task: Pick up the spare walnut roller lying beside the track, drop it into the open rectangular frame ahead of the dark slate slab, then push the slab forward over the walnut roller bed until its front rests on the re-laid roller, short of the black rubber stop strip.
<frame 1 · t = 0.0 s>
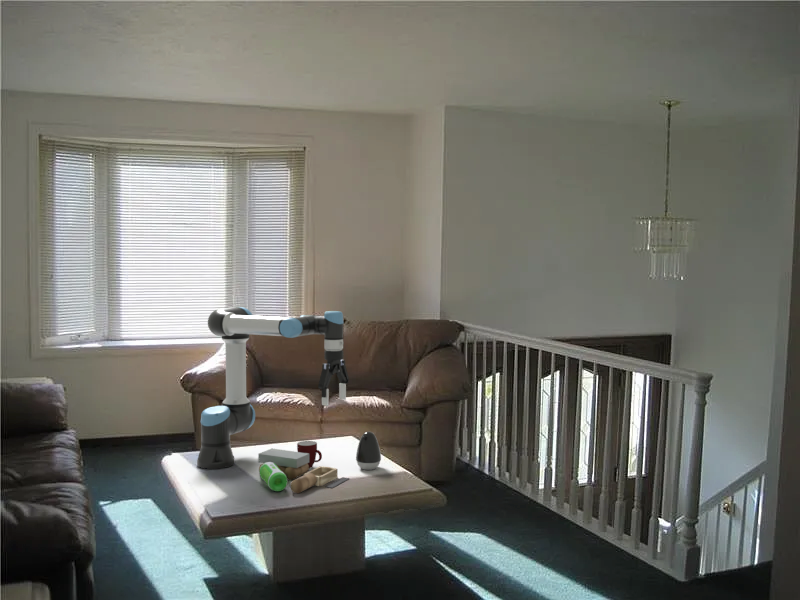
hand: (334, 402, 297), 28 cm above the table, fingers open, 13 cm apart
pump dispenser: (368, 468, 302), on the table
open rectangular frame: (320, 480, 285), on the table
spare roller: (303, 489, 275), on the table
roller bed: (284, 474, 293), on the table
mug: (310, 467, 303), on the table
speaker: (273, 486, 279), on the table
slab: (283, 462, 292), point 5 cm above the table, touching roller bed
stop strip: (337, 483, 282), on the table
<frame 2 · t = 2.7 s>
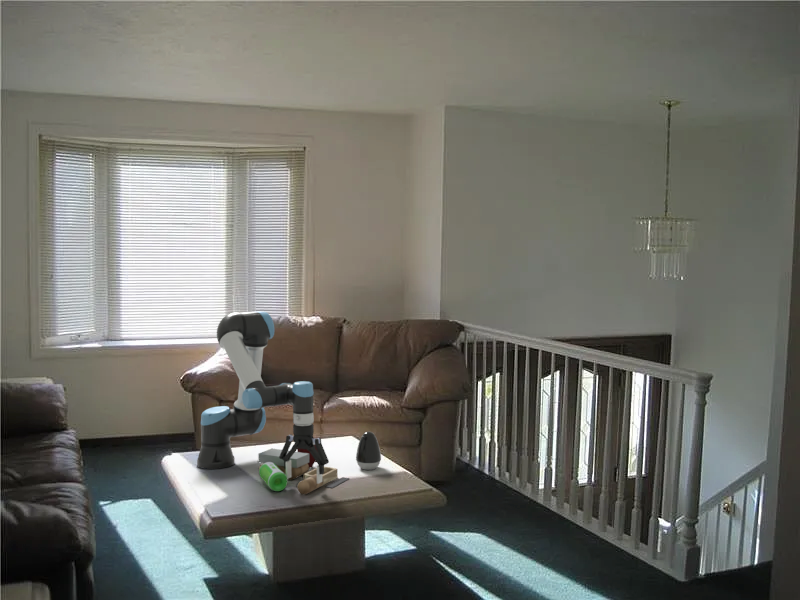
hand: (303, 480, 274), 3 cm above the table, fingers open, 13 cm apart
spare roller: (305, 485, 274), point 2 cm above the table, tilted 73°
everything else where it was.
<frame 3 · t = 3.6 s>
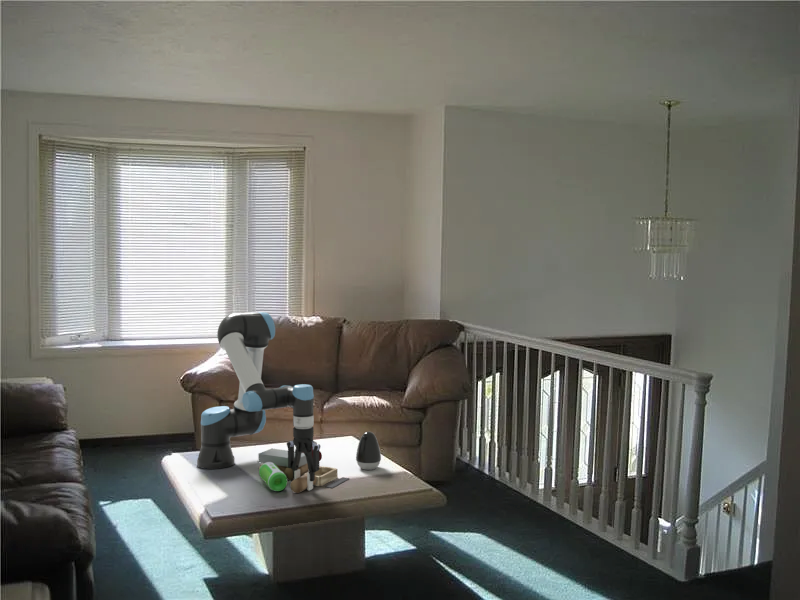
hand: (303, 488, 275), 0 cm above the table, fingers closed on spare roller, 5 cm apart
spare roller: (303, 489, 275), on the table, touching gripper
everything else where it was.
when the fingers open (5 cm above the table, at t = 7.8 s): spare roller drops 5 cm, resting in open rectangular frame.
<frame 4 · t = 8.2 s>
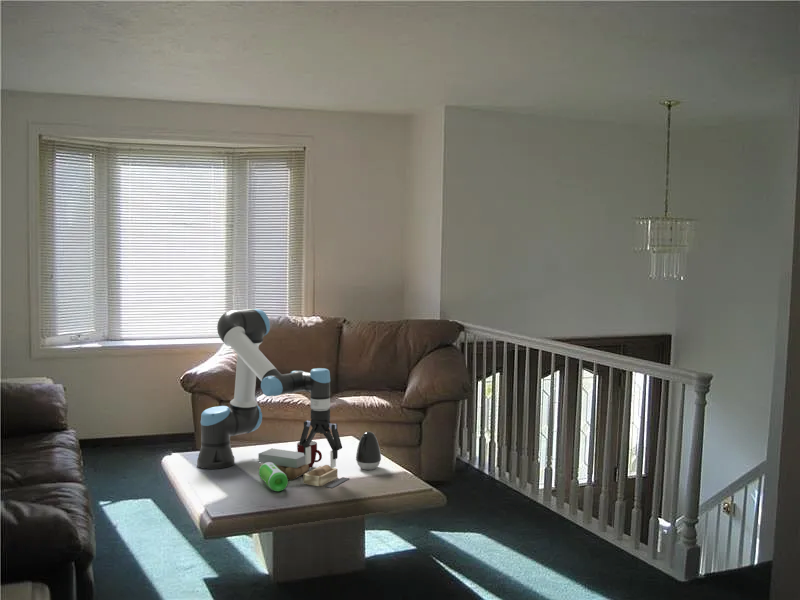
hand: (320, 465, 285), 6 cm above the table, fingers open, 10 cm apart
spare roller: (320, 480, 285), resting in open rectangular frame
everything else where it was.
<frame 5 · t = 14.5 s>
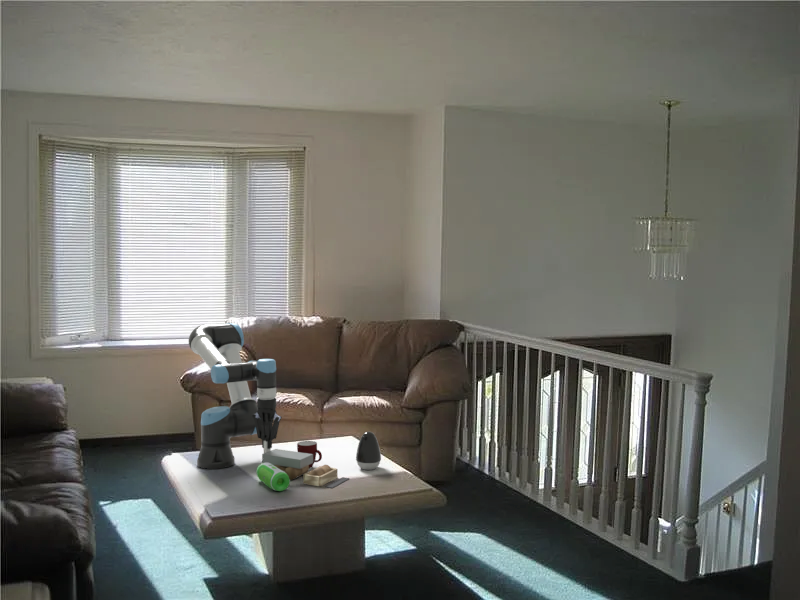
hand: (267, 456, 295), 7 cm above the table, fingers closed
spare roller: (320, 480, 285), resting in open rectangular frame, tilted 8°
slab: (287, 462, 292), point 5 cm above the table, touching gripper, roller bed
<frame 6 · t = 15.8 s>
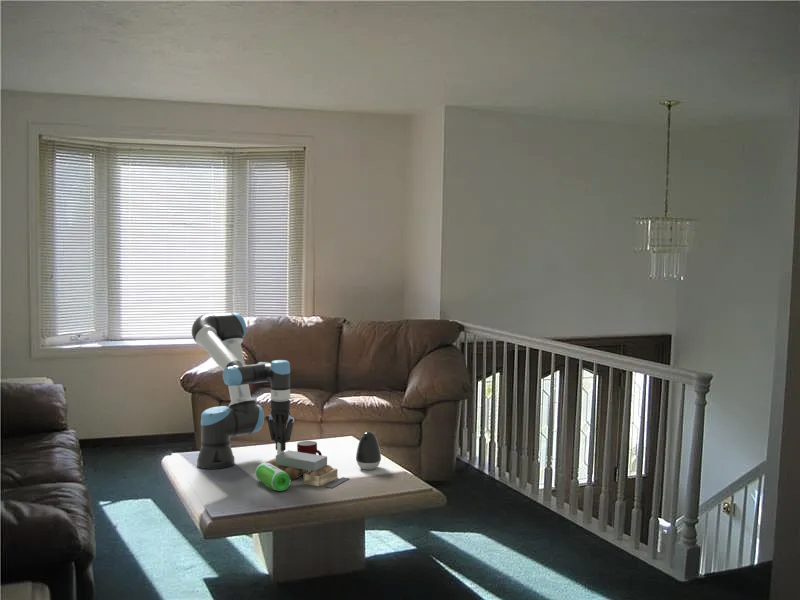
hand: (280, 458, 293), 6 cm above the table, fingers closed
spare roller: (320, 480, 285), resting in open rectangular frame, tilted 10°, touching slab
slab: (301, 464, 289), point 5 cm above the table, touching gripper, roller bed, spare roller
everything else where it was.
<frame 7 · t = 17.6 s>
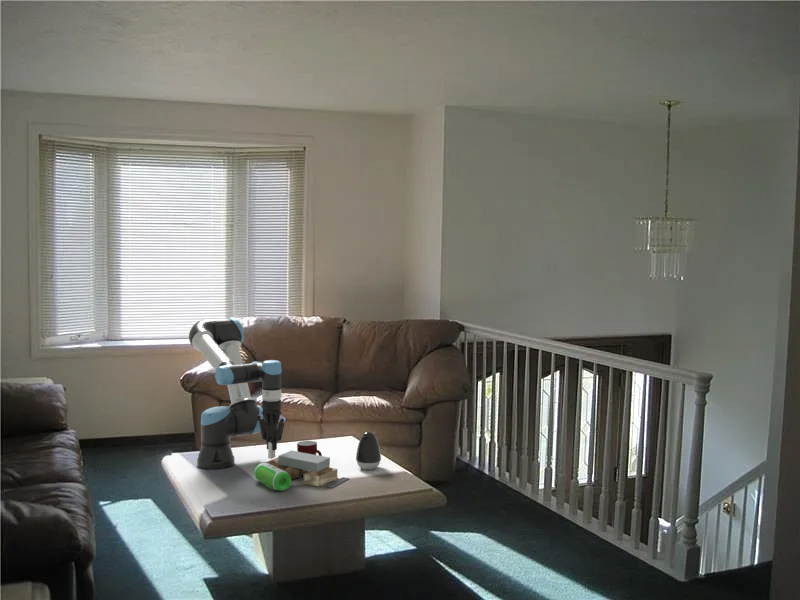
hand: (271, 457, 295), 6 cm above the table, fingers closed
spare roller: (315, 478, 286), resting in open rectangular frame, tilted 49°, touching slab
slab: (303, 465, 288), point 5 cm above the table, touching roller bed, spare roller
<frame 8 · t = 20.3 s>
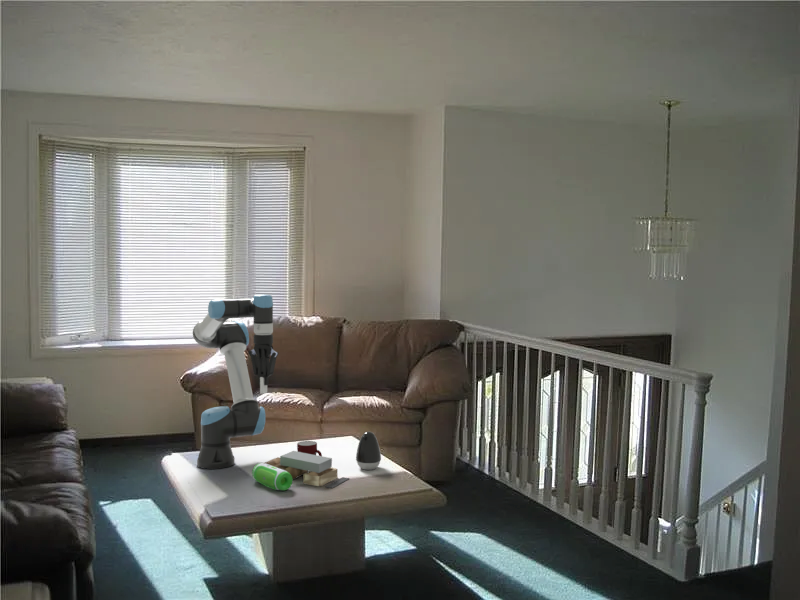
hand: (263, 393, 292), 32 cm above the table, fingers closed
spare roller: (314, 476, 286), point 1 cm above the table, tilted 68°, touching open rectangular frame, slab
at the end: slab inside the target area (0.8 cm from its centre), point 4.8 cm above the table; slab tilted 3°; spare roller inside the target area (2.8 cm from its centre), point 1.1 cm above the table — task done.
